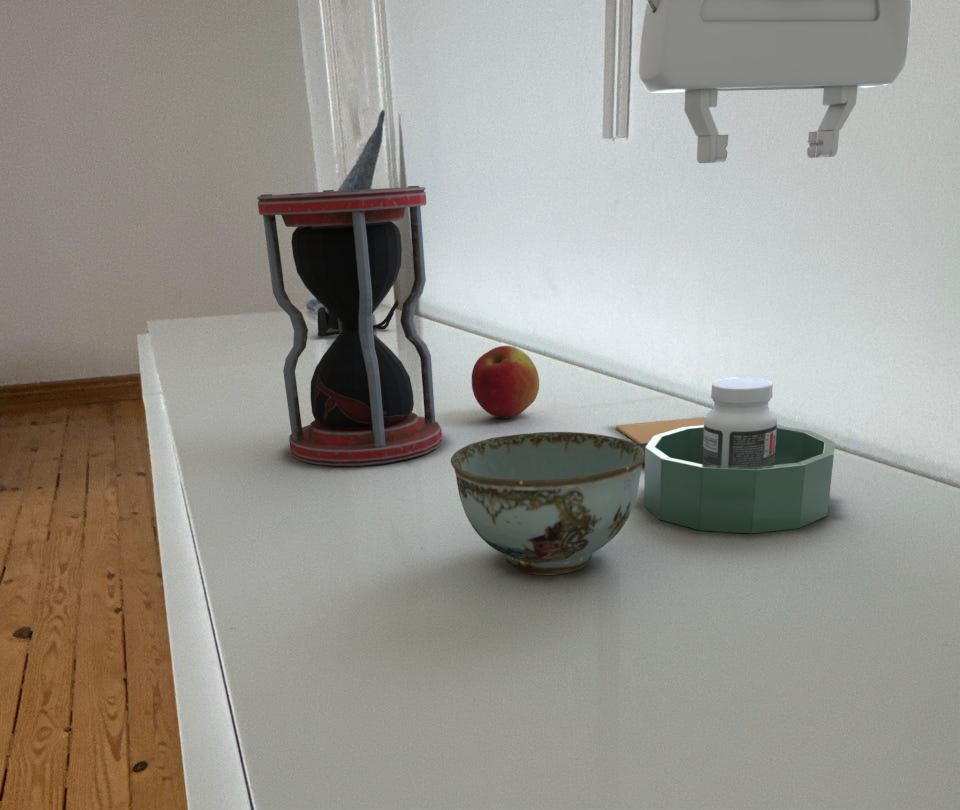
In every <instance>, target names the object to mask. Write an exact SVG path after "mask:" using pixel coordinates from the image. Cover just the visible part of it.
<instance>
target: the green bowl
mask: <svg viewBox="0 0 960 810" xmlns="http://www.w3.org/2000/svg"><path fill="white" fill-rule="evenodd" d="M703 437H704V425H700V426H689V427H682V428H678V429H675V430H672V431H668V432H665V433H661V434H658V435H655V436H653V438H652V439H651V440H650V442H649V443H648V444H647V446H646V447H645V454H646V455H645V463H644V477H643V478H644V482H643V483H644V484H643V485H644V486H643V506H644V508H646V509H647V510H648V511H649V512H650V513H652V514H653V515H654V516H655V517H656V518H657V519H658V520H660V521H662V522H663V521H664V522H667V523H671V524H674V525H678V526H682V527H686V528H690V529H693V530H697V531H702V532H703V531H704V532H716V533H717V532H718V533H719V532H720V533H733V534H734V533H737V534H750V535H751V534H752V535H753V534H761V533H769V532H778V531H786V530H796V529H801V528H803V527H805V526H808V525H810V524H812V523H815V522H816V521H819V520H821V519H824V518H827V517H828V515H829V514H828V513H829V504H830V494H831V485H832V477H833V476H832V475H833V466H834V456H835V447H836V442H835V441H834V440H832V439H829V438H828V437H825V436H823V435H822V434H820V433H819V434H818V433H816V432H814V431H812V430H807V429H801V428H795V427H789V426H785V425H784V426H783V425H778V424H777V431H776V445H775V461H774V465H770V466H761V467H737V466H713V465H703V464H702V462H703Z"/></svg>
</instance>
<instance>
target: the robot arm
mask: <svg viewBox="0 0 960 810" xmlns="http://www.w3.org/2000/svg"><path fill="white" fill-rule="evenodd" d="M912 2H913V0H646V4H645V8H644V9H645V10H644V15H643V21H642V28H641V37H640V45H639V57H638V78H639V80H640V82H641V83H642V85H643V87H644V89H645V90H646V91H647V92H648V93H650V94H657V93H658V94H660V93H661V94H663V93H664V94H665V93H684V112H685V115H686V117H687V119H688V121H689V124H690V126H691V128H692V130H693V132H694V134H695V136H696V137H697V146H696V160H697V163H698V164H715V163H724V162H725V161H726V160H727V158H728V151H727V147H728V145H729V134H719V130H718V128H717V125H716V122H715V119H714V118H713V114H712V111H711V109H713V108H716V107H718V95H719V92H736V91H737V92H738V91H740V92H741V91H775V90H776V91H778V90H815V89H816V90H817V89H820V90H821V89H822V90H823V92H822V93H823V96H822V106H827V110H826V112H825V113H824V116H823V118H822V120H821V122H820V125H819V127H818V129H817V130H816V131H808V132H807V142H806V143H807V144H808V145H807V147H806V156H807V158H809V159H812V158H813V159H814V158H816V159H817V158H819V159H821V158H834V157H836V155H837V154H838V148H839V138H840V131H841V130H842V129H843V127H844V125H845V123H846V122H847V120H848V118H849V116H850V115H851V113H852V112H853V110H854V108H855V105H856V104H857V95H858V88H875V87H881V86H887V85H891V84H893V83H894V82H895V81H896V80H897V78H898V77H899V76H900V74H901V72H902V70H903V69H904V67H905V64H906V60H907V56H908V48H909V40H910V30H911V21H912V20H911V19H912V4H913V3H912Z"/></svg>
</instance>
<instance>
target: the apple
mask: <svg viewBox="0 0 960 810" xmlns="http://www.w3.org/2000/svg"><path fill="white" fill-rule="evenodd" d="M471 389H472V393H473V397H474V398H475V401H476V402H477V404H478V405H479V406H480V407H481V408H482V409H483V410H484V411H485V413H487V414H489V415H491V416H492V417H496V418H499V419H509V418H512V417H516V416H518V415H520V414H521V413H523V412H524V411H526V410H527V408H529V407H530V406H531V405H532V404H533V403H534V402H535V401H536V399H537V397H538V394H539V391H540V376H539V372H538V370H537V367H536V365H535V363H534V362H533V360H532V358H531V357H530V356H529V355H528V354H527V353H525V352H524V351H523V350H521V349H519V348H517V347H515V346H511V345H501V346H497V347H494V348H492V349H489V351H487V352H485V353H483V354H482V355H480V357H478V359H477V360H476V361H475V364H474V366H473V368H472V372H471Z"/></svg>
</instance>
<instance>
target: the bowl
mask: <svg viewBox="0 0 960 810" xmlns="http://www.w3.org/2000/svg"><path fill="white" fill-rule="evenodd" d="M637 444H638V443H636V442H633V441H629V440H628V439H624V438H620V437H619V438H618V437H615V436H610V435H605V434H599V433H598V434H596V433H587V432H575V431H574V432H573V431H542V432H540V431H538V432H531V433H530V432H529V433H517V434H512V435H501V436H496V437H495V436H494V437H490V438H486V439H483V440H479V441H476V442H472V443H470V444H468V445H465V446H464V447H463V446H462V447H461V448H459V449H458V450H456V452H454V453H453V454H452V455H451V458H450V464H451V466H452V468H453V469H454V473H455V477H456V485H457V490H458V495H459V499H460V503H461V505H462V508H463V511H464V513H465V516H466V518H467V520H468V522H469V524H470V525H471V526H472V528H473V530H474V531H475V533H476V534H477V535H478V536H479V537H480V538H481V540H483V542H485V543H486V544H487V545H488V546H490V547H491V548H492V549H494V550H495V551H497V552H499V553H501V554H502V555H505V559H506V560H505V561H506V563H507V564H508V565H509V566H510V567H511V568H513V569H514V570H515V571H518V572H521V573H526V574H530V575H539V576H554V575H555V576H556V575H563V574H571V573H574V572H577V571H579V570H582V569H583V568H584V567H586V566H587V565H588V564H589V562H591V559H592V555H593V553H595V552H597V551H598V550H600V549H602V548H603V547H604V546H605V545H607V544H608V543H610V542H611V541H612V540H613V539H614V538H615V537H616V536H617V535H618V534H619V533H620V532H621V530H622V529H623V527H624V526H625V524H626V523H627V521H628V520H629V518H630V516H631V513H632V511H633V510H634V506H635V503H636V500H637V498H638V492H639V487H640V481H641V473H642V467H643V464H644V463H643V461H644V459H645V455H646V454H645V451H644V450H643V449H642V448H641V447H640V446H639V445H637Z"/></svg>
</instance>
